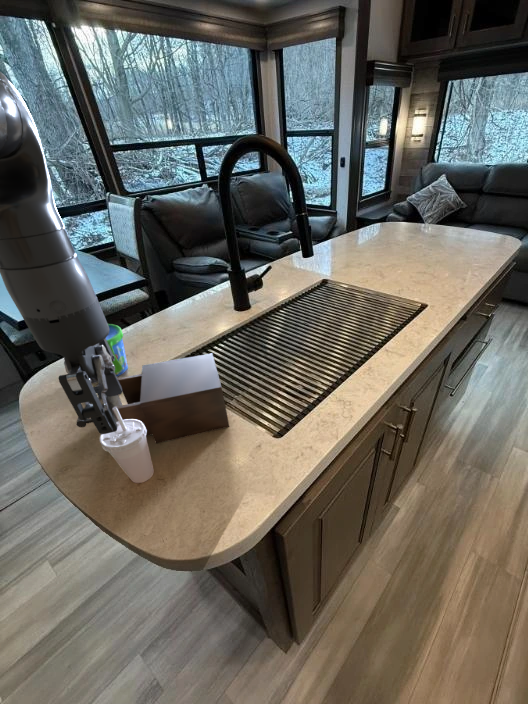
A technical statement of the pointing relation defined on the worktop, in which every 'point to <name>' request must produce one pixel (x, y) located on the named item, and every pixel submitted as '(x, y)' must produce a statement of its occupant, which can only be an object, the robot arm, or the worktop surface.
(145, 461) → the smoothie
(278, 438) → the worktop surface
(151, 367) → the cabinet
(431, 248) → the worktop surface
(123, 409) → the drawer
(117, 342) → the snack cup
